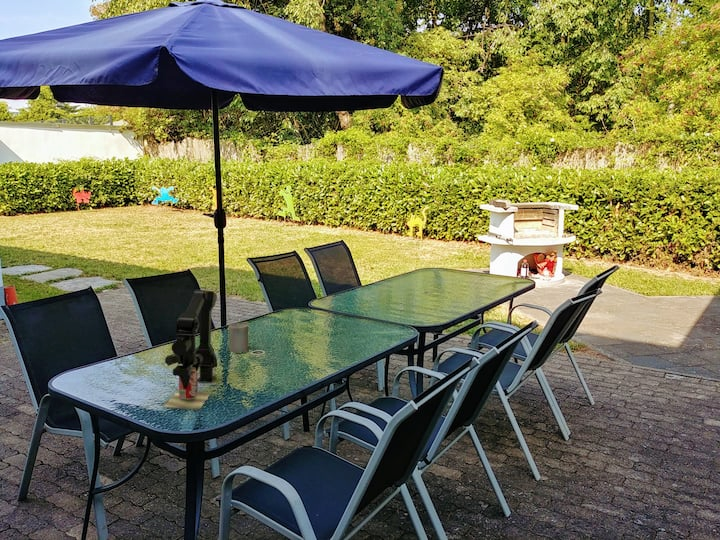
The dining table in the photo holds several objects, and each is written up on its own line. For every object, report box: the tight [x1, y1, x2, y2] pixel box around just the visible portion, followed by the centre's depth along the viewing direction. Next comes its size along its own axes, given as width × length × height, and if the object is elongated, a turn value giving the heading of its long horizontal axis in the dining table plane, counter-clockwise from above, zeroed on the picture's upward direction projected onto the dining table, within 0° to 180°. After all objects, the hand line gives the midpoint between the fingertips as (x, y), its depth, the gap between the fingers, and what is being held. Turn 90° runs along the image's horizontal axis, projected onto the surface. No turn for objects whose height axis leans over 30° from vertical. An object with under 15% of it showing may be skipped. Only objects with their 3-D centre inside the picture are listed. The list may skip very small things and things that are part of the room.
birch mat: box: [163, 390, 212, 410], centre depth 237 cm, size 16×14×1 cm
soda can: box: [178, 366, 199, 400], centre depth 235 cm, size 7×7×12 cm
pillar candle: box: [228, 322, 249, 354], centre depth 300 cm, size 10×10×15 cm
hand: (188, 385), depth 236 cm, fingers closed on soda can, 7 cm apart
